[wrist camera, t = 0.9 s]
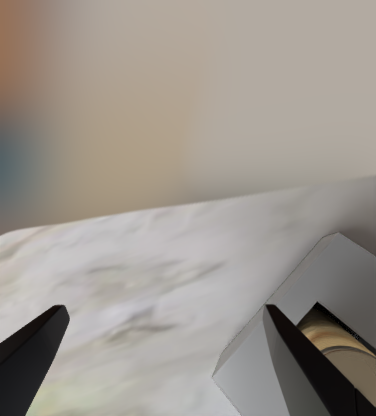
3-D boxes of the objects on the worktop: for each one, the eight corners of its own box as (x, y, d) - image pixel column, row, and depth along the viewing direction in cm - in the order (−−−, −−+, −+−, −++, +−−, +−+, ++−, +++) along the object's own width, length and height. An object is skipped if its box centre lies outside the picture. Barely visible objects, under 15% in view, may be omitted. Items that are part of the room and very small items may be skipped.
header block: (427, 308, 15) (482, 326, 11) (301, 447, 15) (314, 506, 12) (322, 237, 18) (338, 232, 14) (221, 354, 19) (211, 378, 15)
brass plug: (354, 337, 16) (450, 418, 8) (320, 375, 16) (380, 492, 8) (306, 297, 17) (345, 331, 9) (275, 332, 17) (288, 394, 10)
